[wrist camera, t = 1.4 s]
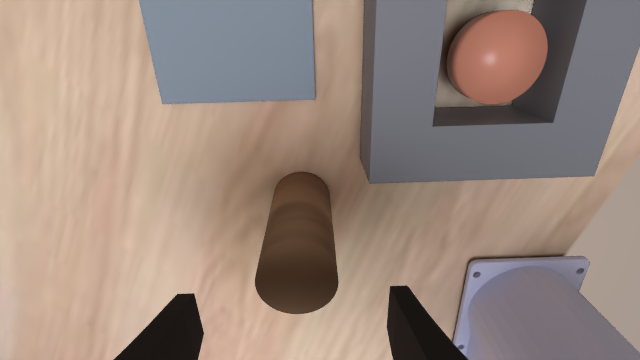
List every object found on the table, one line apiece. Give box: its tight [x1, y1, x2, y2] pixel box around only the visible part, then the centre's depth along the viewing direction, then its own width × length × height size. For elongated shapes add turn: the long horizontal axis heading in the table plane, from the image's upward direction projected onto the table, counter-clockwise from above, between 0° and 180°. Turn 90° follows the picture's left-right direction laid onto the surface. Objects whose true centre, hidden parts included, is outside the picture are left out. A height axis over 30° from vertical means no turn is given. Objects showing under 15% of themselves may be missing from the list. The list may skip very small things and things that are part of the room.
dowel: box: [255, 172, 338, 314], centre depth 17 cm, size 3×3×8 cm
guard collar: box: [360, 0, 640, 184], centre depth 16 cm, size 11×11×4 cm
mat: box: [139, 0, 315, 104], centre depth 16 cm, size 8×8×1 cm
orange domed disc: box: [447, 10, 548, 105], centre depth 15 cm, size 4×4×1 cm
